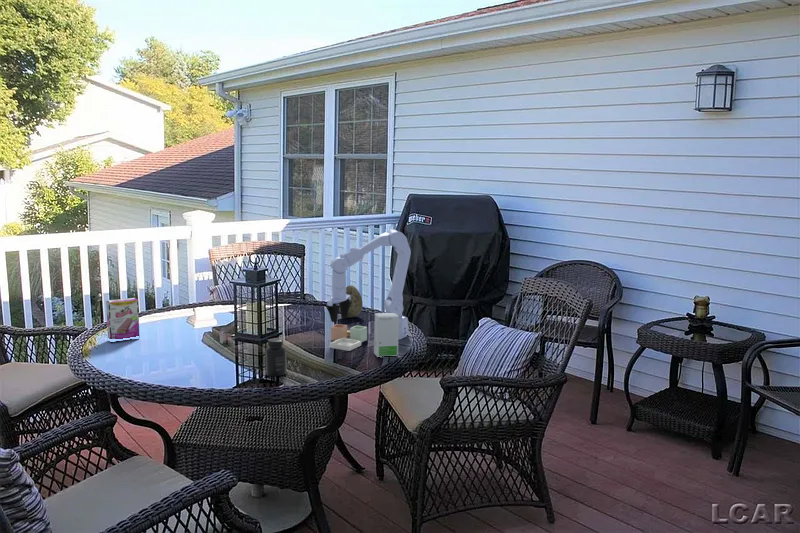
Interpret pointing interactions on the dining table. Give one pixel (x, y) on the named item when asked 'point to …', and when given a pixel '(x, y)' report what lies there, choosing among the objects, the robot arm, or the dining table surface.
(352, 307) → the decorative egg
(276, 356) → the supplement bottle
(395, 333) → the skincare box
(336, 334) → the pot terracotta
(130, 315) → the candy bar box
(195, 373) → the dining table surface
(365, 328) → the pot green
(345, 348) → the tray
